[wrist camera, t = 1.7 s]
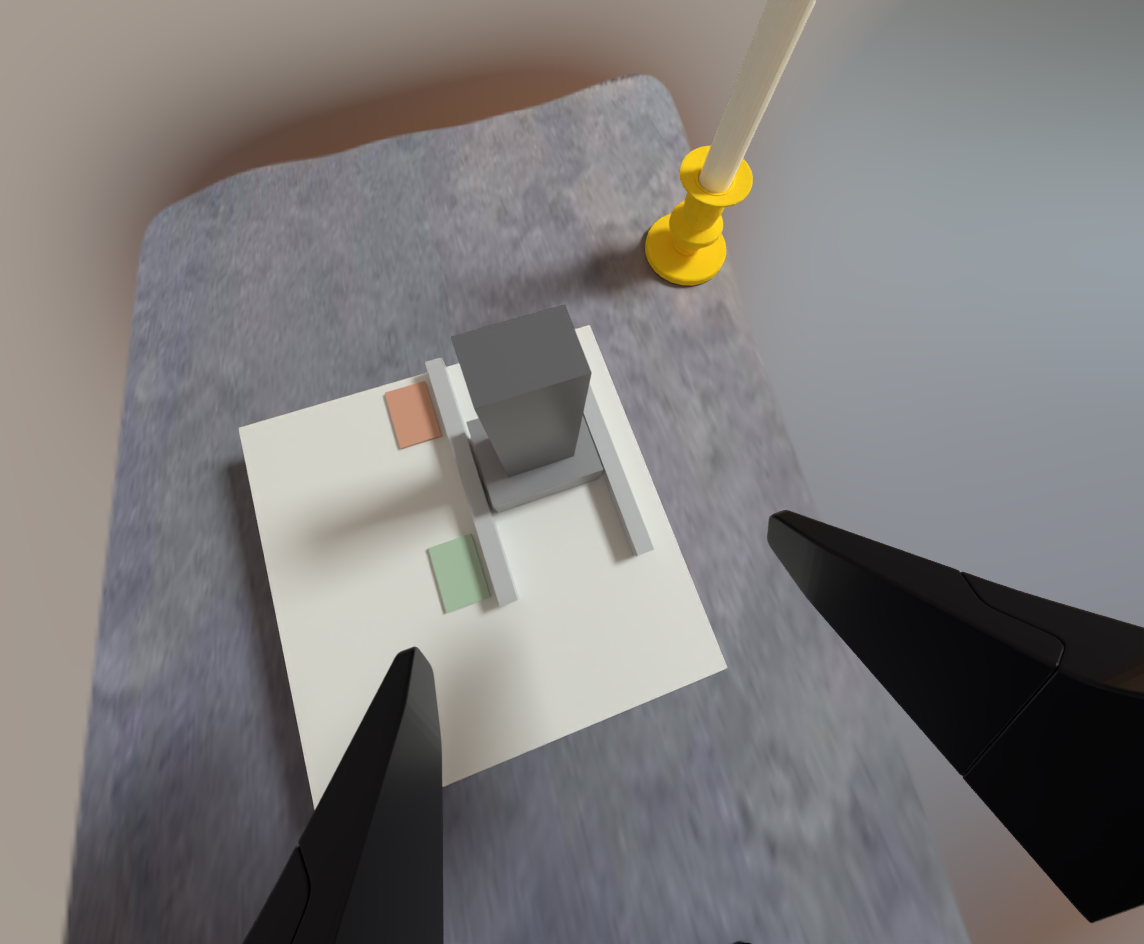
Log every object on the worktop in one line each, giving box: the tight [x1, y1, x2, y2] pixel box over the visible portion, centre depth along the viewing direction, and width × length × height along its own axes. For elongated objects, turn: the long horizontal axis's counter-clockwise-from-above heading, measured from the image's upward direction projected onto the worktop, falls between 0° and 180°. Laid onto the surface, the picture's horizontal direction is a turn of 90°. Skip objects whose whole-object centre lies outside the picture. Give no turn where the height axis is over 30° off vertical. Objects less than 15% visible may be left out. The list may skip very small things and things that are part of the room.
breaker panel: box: [239, 325, 727, 809], centre depth 20 cm, size 18×18×4 cm
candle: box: [645, 0, 816, 285], centre depth 19 cm, size 5×5×16 cm
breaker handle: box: [451, 305, 603, 513], centre depth 15 cm, size 4×5×10 cm
